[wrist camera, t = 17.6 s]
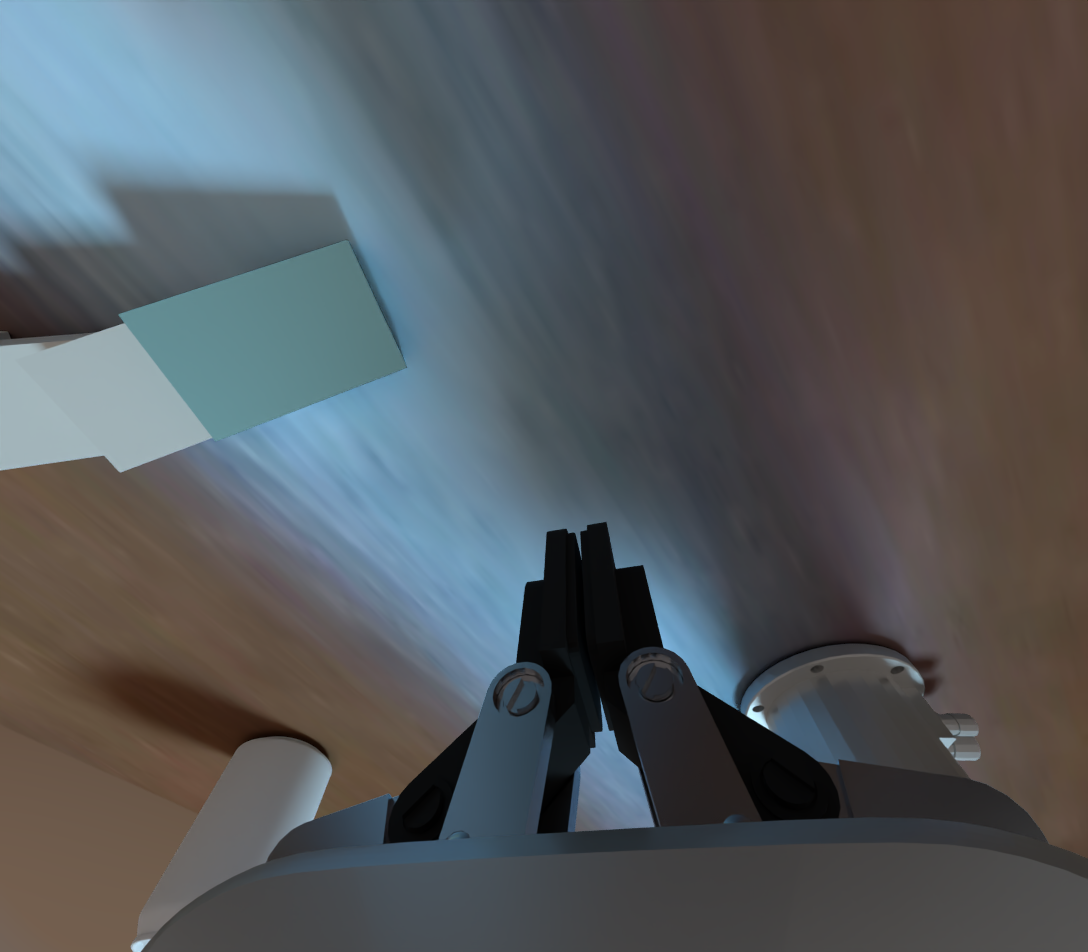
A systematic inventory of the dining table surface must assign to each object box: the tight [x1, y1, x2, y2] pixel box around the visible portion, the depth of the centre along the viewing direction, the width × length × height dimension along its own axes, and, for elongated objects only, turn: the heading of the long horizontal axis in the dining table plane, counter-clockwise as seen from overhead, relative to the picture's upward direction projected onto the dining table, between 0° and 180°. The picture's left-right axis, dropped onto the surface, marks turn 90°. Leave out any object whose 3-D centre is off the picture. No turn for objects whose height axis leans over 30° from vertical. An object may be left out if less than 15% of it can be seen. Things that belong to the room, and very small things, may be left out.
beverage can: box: [131, 736, 332, 952], centre depth 33 cm, size 8×8×12 cm
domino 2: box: [15, 323, 212, 472], centre depth 18 cm, size 2×5×8 cm
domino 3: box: [118, 240, 407, 442], centre depth 17 cm, size 2×5×8 cm
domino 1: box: [0, 332, 104, 470], centre depth 18 cm, size 2×5×8 cm
